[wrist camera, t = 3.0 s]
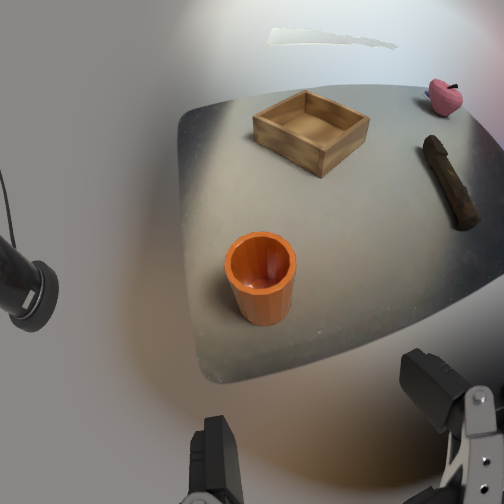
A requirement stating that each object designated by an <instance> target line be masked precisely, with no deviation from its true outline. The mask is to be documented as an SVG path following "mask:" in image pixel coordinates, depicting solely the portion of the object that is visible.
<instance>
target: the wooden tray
mask: <svg viewBox="0 0 504 504" xmlns="http://www.w3.org/2000/svg"><path fill="white" fill-rule="evenodd" d="M252 117H253V127H254V137H255V141H256V142H258V143H260V144H261V145H263V146H265V147H267V148H269V149H271V150H273V151H275V152H276V153H278V154H280V155H282V156H284V157H285V158H287V159H289V160H291V161H293V162H294V163H296V164H298V165H299V166H301V167H303V168H305V169H306V170H308V171H310V172H311V173H313V174H315V175H316V176H318V177H320V178H322V177H324V176H325V175H326V174H327V173H328V172H329V171H331V170H332V169H333V168H334V167H335V166H337V165H338V164H339V163H340V162H341V161H342V160H344V159H345V158H346V157H347V156H348V155H350V154H351V153H352V152H353V151H354V150H355V149H357V148H358V147H359V146H360V145H361V144H363V143H364V142H365V139H366V135H367V131H368V126H369V121H370V118H369V117H367V116H365V115H363V114H361V113H359V112H356V111H354V110H352V109H350V108H348V107H346V106H343V105H341V104H339V103H336V102H334V101H332V100H329V99H327V98H324V97H322V96H319V95H317V94H314V93H312V92H309V91H306V90H304V91H302V92H299V93H297V94H295V95H293V96H291V97H289V98H287V99H285V100H283V101H281V102H279V103H277V104H275V105H273V106H271V107H269V108H267V109H265V110H263V111H261V112H259V113H258V114H256V115H254V116H252Z"/></svg>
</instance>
